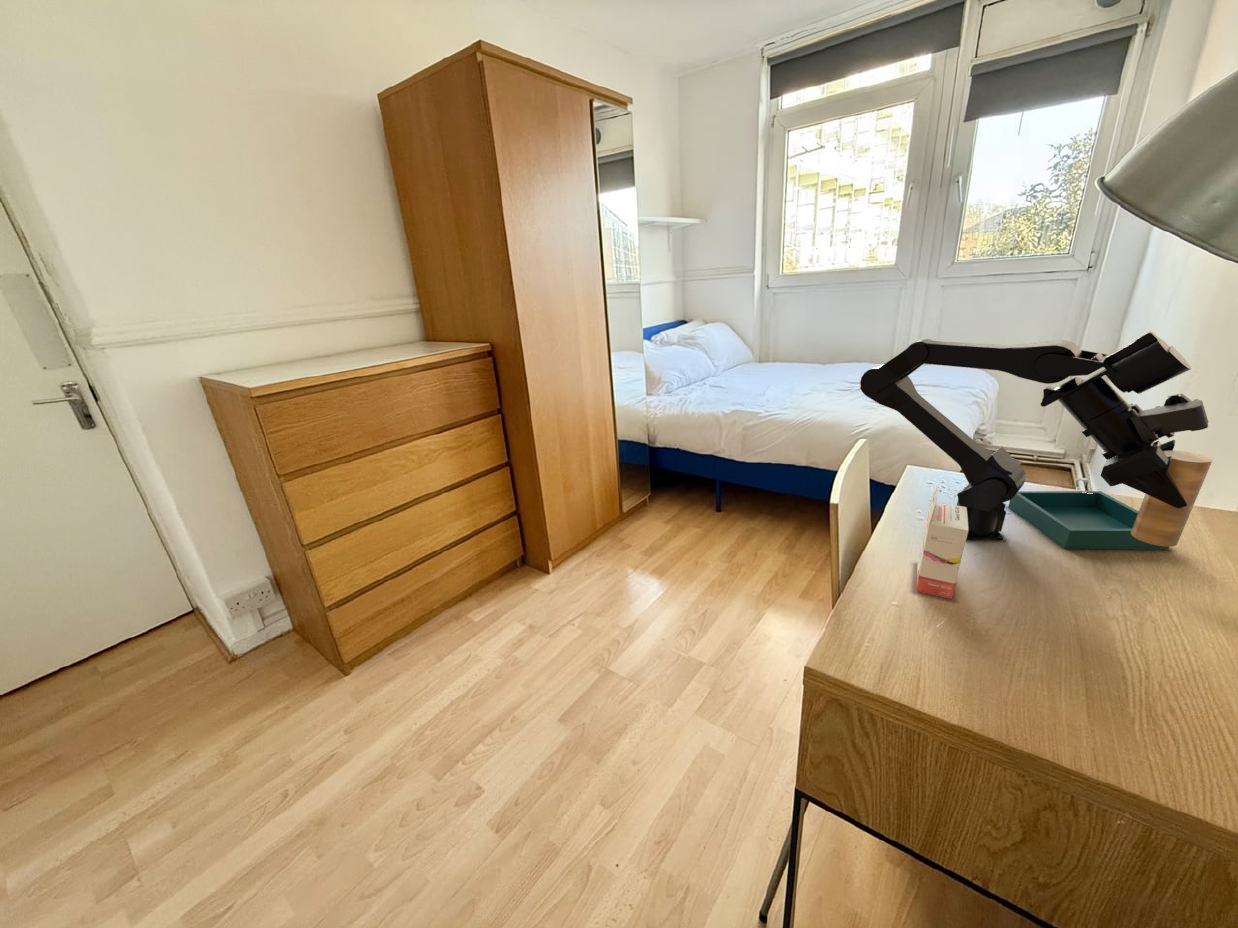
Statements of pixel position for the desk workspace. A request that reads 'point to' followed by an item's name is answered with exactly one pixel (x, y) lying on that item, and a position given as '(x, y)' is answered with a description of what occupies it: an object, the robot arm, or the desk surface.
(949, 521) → the ink cartridge box
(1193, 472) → the wood cylinder
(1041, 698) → the desk surface
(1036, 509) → the teal serving tray
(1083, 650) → the desk surface
